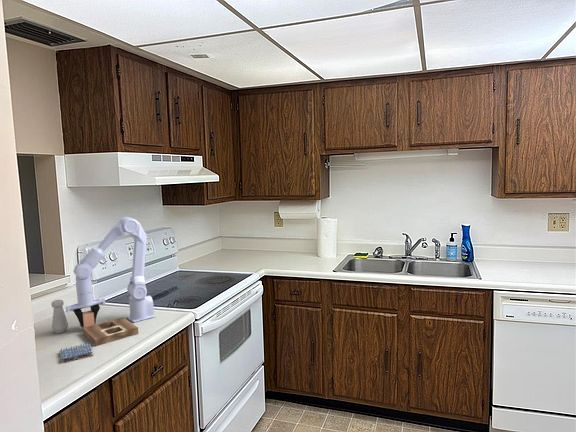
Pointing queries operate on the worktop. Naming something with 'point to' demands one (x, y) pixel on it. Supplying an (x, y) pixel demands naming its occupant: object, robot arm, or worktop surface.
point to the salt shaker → (59, 317)
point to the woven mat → (76, 353)
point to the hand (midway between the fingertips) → (88, 324)
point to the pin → (88, 319)
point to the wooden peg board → (110, 331)
